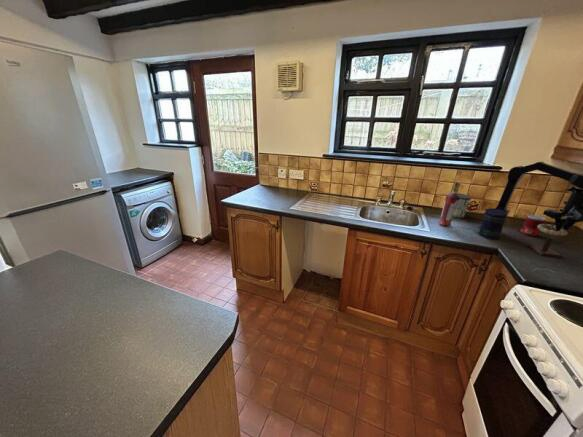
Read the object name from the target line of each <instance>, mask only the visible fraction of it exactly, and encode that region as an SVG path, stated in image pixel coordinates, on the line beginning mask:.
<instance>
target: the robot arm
mask: <svg viewBox="0 0 583 437" xmlns="http://www.w3.org/2000/svg"><path fill="white" fill-rule="evenodd" d="M534 171H538V172H542V173H545V174H547V175H551V176H553V177H556V178H559V179H561V180H565V181H566V182H568V183H569V184H570V185H573V186H571V187H568V188H566V191H567V192H570V195H569V196H568V198H567V200H565V201H563V204H564V206H563V208H560V209H559V210H555V209H549V208H548V209H544V211H543V213H542V215H544V216H546V217H547V218H550V219H553V220H554V223H555V224H554V225H555V226H556V230H558V231H559V230H560V229H561V228H563V229H565V230H566V231H567V230H569V229H570V228H571V227H572V226H574V225H575V224H577V223H583V173H580V172H573V171H569V170H567V169H563V168H562V167H558V166H555V165H553V164H548V163H545V162H544V161H537V162H535V163H532V164H528V165H525V166H523V165H517V166H514V167H511V168H509V170H508V175H507V183H506V185H505V188H504V189H503V192H502V194H501V197H500V199H499V201H498V204H497V205H496V207H494V209H500V210H504V211H506V212H507V216H506V218H508V215H509V213H510V211H511V210H510V209H508V205H509V203H510V202H511V199H512V198H513V195H514V192H515V191H516V188H517V186H518V184H519V183H520V181H521V180H523V178H524V176H525V175H526V174H527V173H531V172H534ZM480 227H481V226H479V227H478V228H479V229H480Z"/></svg>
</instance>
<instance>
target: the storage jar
mask: <svg viewBox="0 0 583 437" xmlns="http://www.w3.org/2000/svg"><path fill="white" fill-rule="evenodd" d="M506 216H507V212H506V211H504V210H500V209H495V207H494V208H491V207H490V208H485V210H484V213H483V216H482V223H481V224H480V226H479V227H480V228H479V232H478V235H479V236H481V237H483V238H485V239H489V240H498V239H500V237H501V235H502V231H503V226H504V224H505V222H506V220H507V217H508V216H507V217H506Z"/></svg>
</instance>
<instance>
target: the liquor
mask: <svg viewBox="0 0 583 437" xmlns="http://www.w3.org/2000/svg"><path fill="white" fill-rule="evenodd" d="M460 186H461V181H454V185H453V189H452V191H451V192H450V193H448V194H446V195H445V199H444V203H443V207H442V211H441V215H440V218H439V220H438V223H439V225H440V226H442V227H449V226H451V225H452V220H453V218H454V216H453V215H454V213H455V210H456V208H457V205H458V203H459V200H460V197H459V196H458V195H457V193H458V192H459V188H460Z"/></svg>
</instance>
